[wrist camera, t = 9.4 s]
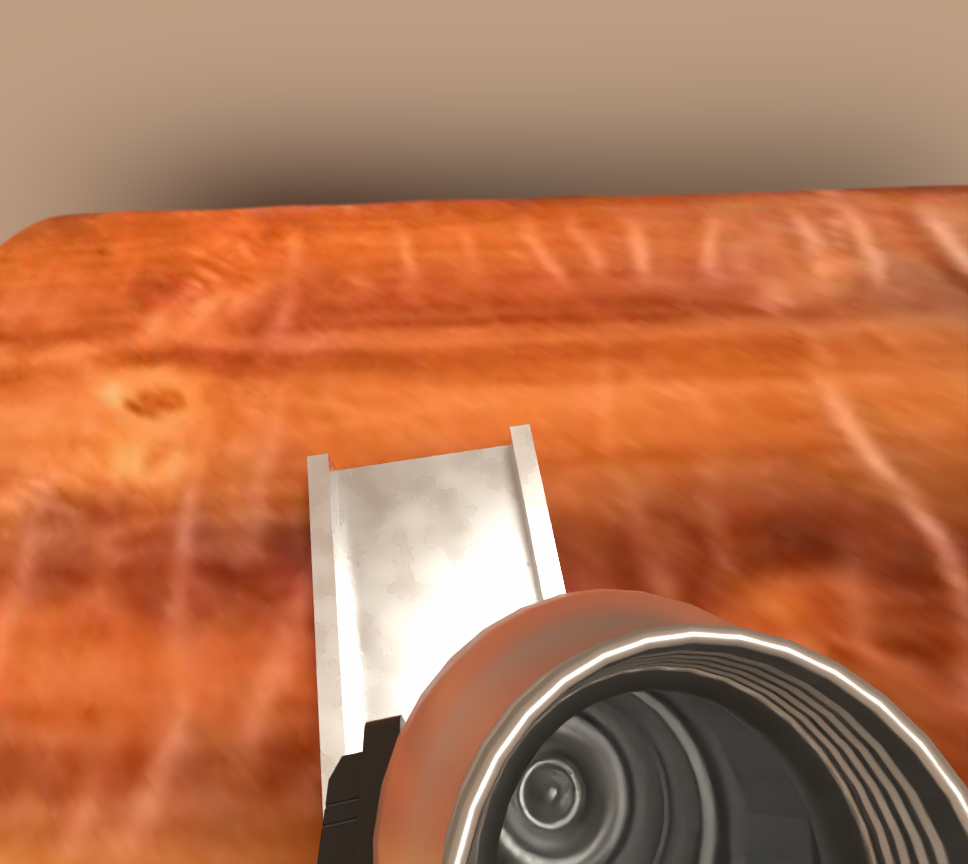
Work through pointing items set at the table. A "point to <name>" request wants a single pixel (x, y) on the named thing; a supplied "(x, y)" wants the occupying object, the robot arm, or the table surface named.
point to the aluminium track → (417, 574)
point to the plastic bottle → (659, 750)
